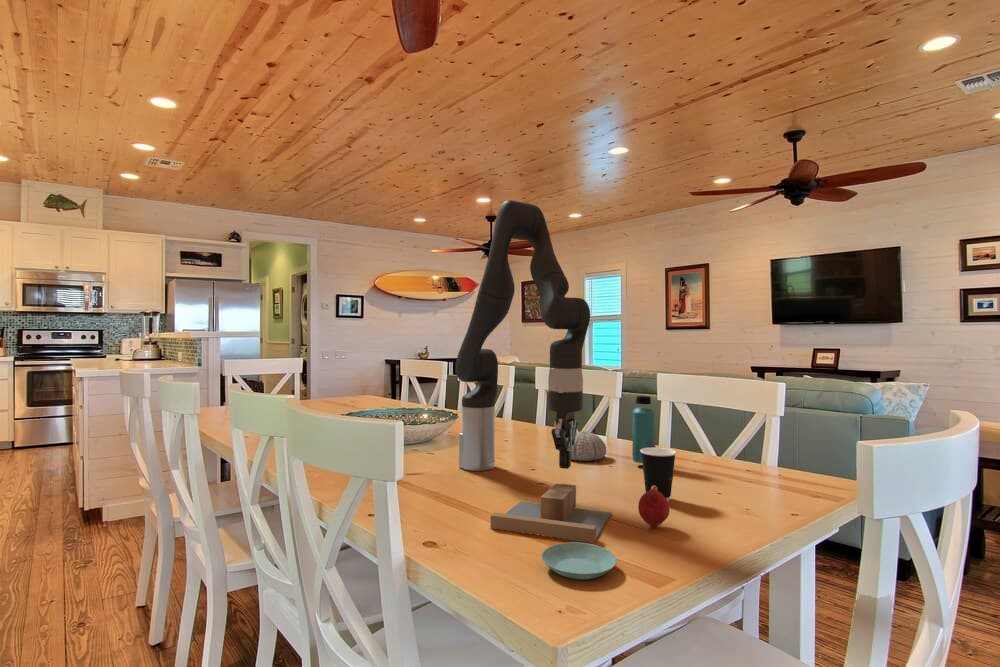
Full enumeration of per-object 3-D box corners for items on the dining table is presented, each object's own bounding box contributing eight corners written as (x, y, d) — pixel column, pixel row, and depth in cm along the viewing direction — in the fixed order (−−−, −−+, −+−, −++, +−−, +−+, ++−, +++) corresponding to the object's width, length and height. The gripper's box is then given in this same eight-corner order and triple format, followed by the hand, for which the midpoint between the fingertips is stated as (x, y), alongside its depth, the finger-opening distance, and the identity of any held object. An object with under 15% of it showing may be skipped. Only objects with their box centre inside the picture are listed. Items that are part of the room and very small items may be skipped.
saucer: (626, 586, 81) (626, 571, 81) (548, 589, 80) (548, 573, 80) (604, 554, 93) (604, 541, 93) (536, 556, 92) (536, 543, 92)
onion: (664, 534, 102) (664, 491, 102) (634, 529, 105) (634, 487, 105) (672, 525, 107) (672, 484, 107) (643, 520, 110) (643, 480, 110)
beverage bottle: (658, 469, 152) (658, 397, 152) (634, 469, 152) (634, 397, 152) (652, 463, 158) (652, 394, 158) (629, 463, 158) (629, 394, 158)
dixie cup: (634, 495, 127) (634, 447, 127) (666, 493, 128) (666, 446, 128) (649, 505, 119) (649, 455, 119) (683, 503, 120) (683, 454, 120)
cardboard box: (555, 503, 119) (540, 519, 109) (555, 483, 119) (540, 497, 109) (576, 506, 117) (562, 522, 107) (576, 485, 117) (562, 499, 107)
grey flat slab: (490, 528, 105) (490, 515, 105) (520, 503, 121) (520, 491, 121) (593, 543, 97) (593, 529, 97) (611, 514, 113) (611, 502, 113)
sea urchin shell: (561, 462, 160) (561, 435, 160) (563, 452, 173) (563, 427, 173) (607, 464, 158) (607, 436, 158) (606, 454, 171) (606, 428, 171)
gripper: (557, 385, 127) (557, 459, 127) (539, 390, 115) (539, 473, 115) (589, 386, 124) (588, 462, 124) (574, 392, 112) (573, 477, 112)
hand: (564, 467), depth 119 cm, fingers closed
